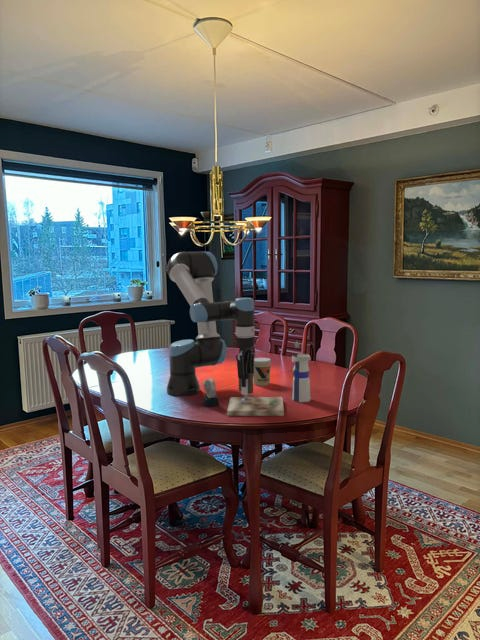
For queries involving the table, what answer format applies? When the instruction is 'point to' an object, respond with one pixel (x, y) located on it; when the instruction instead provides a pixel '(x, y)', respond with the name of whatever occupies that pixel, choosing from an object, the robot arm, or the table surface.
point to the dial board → (256, 407)
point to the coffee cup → (262, 371)
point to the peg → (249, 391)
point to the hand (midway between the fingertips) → (246, 393)
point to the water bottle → (301, 377)
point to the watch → (210, 393)
